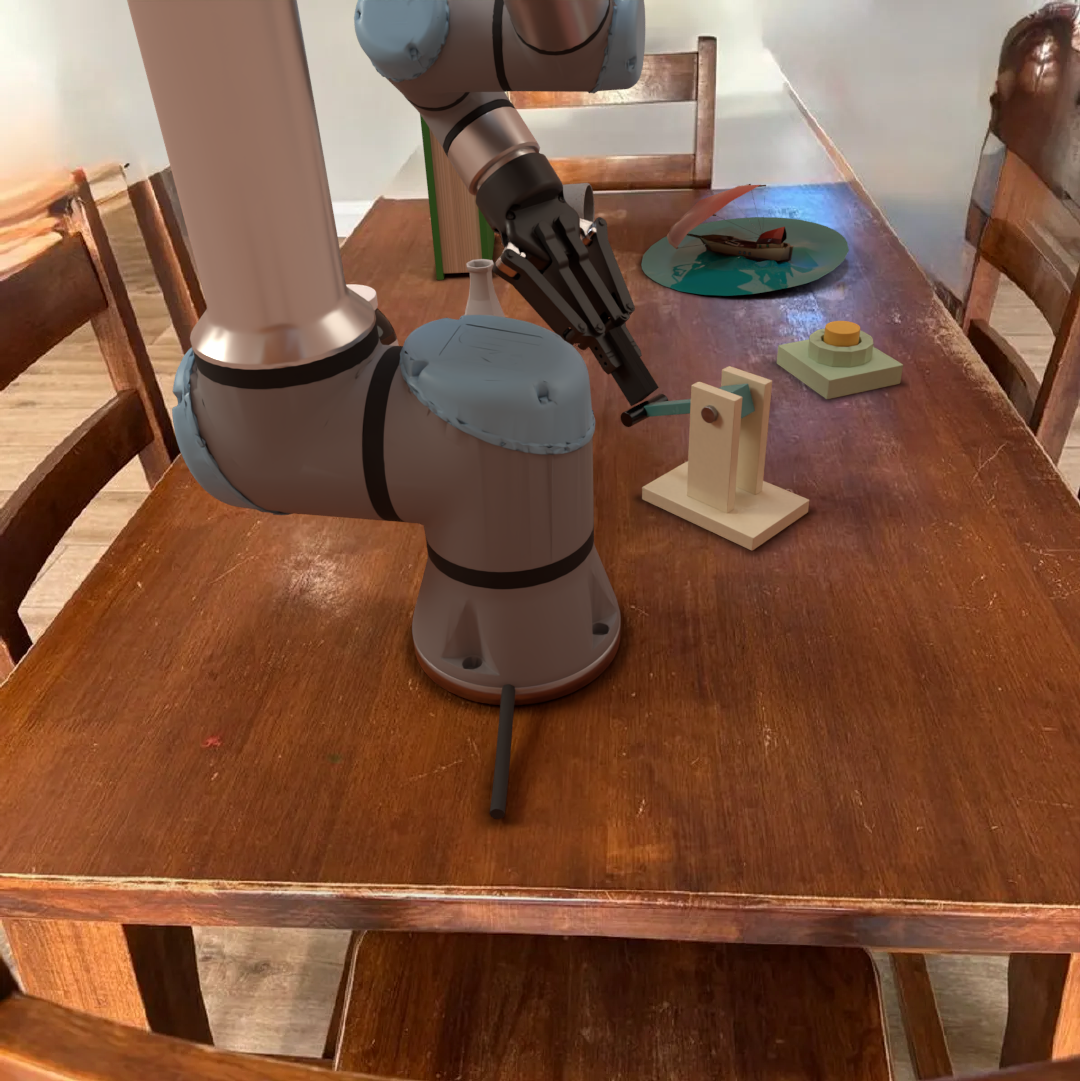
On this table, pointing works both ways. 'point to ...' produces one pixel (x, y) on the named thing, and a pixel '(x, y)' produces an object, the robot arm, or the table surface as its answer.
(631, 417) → the lever
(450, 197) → the hardback book
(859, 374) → the button box
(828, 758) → the table surface
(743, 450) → the wooden stand
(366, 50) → the robot arm
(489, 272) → the flask
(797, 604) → the table surface
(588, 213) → the ceramic mug
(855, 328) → the button
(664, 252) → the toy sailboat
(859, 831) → the table surface
